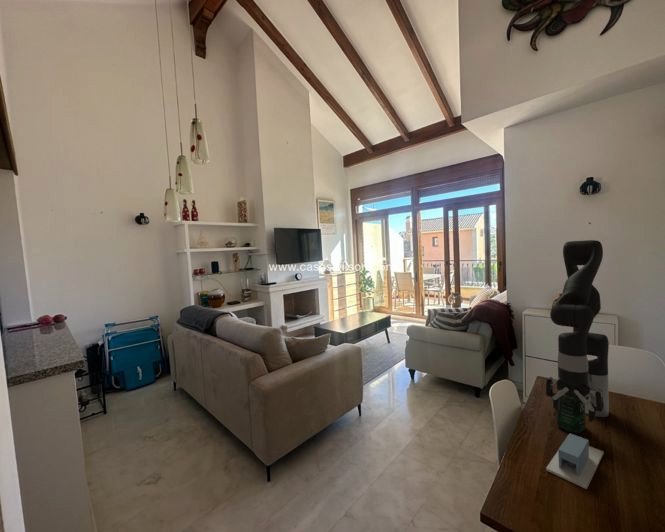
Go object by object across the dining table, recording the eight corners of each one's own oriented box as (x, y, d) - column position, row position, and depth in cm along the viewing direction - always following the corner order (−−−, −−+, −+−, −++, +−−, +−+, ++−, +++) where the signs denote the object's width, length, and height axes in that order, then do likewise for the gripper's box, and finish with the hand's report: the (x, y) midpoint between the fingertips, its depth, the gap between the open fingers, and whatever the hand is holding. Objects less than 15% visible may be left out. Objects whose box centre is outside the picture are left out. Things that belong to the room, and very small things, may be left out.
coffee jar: (578, 437, 109) (577, 388, 108) (553, 426, 115) (552, 380, 114) (589, 427, 113) (588, 380, 112) (564, 418, 120) (563, 373, 119)
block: (569, 450, 101) (569, 433, 101) (588, 457, 97) (588, 440, 97) (558, 467, 94) (558, 449, 94) (578, 476, 90) (578, 457, 90)
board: (566, 439, 107) (566, 431, 107) (603, 453, 100) (603, 444, 99) (546, 470, 94) (545, 460, 94) (586, 489, 86) (586, 478, 86)
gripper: (605, 369, 91) (606, 419, 92) (549, 357, 102) (551, 402, 103) (599, 376, 86) (600, 430, 87) (542, 363, 97) (543, 411, 98)
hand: (573, 415), depth 95 cm, fingers open, 8 cm apart
